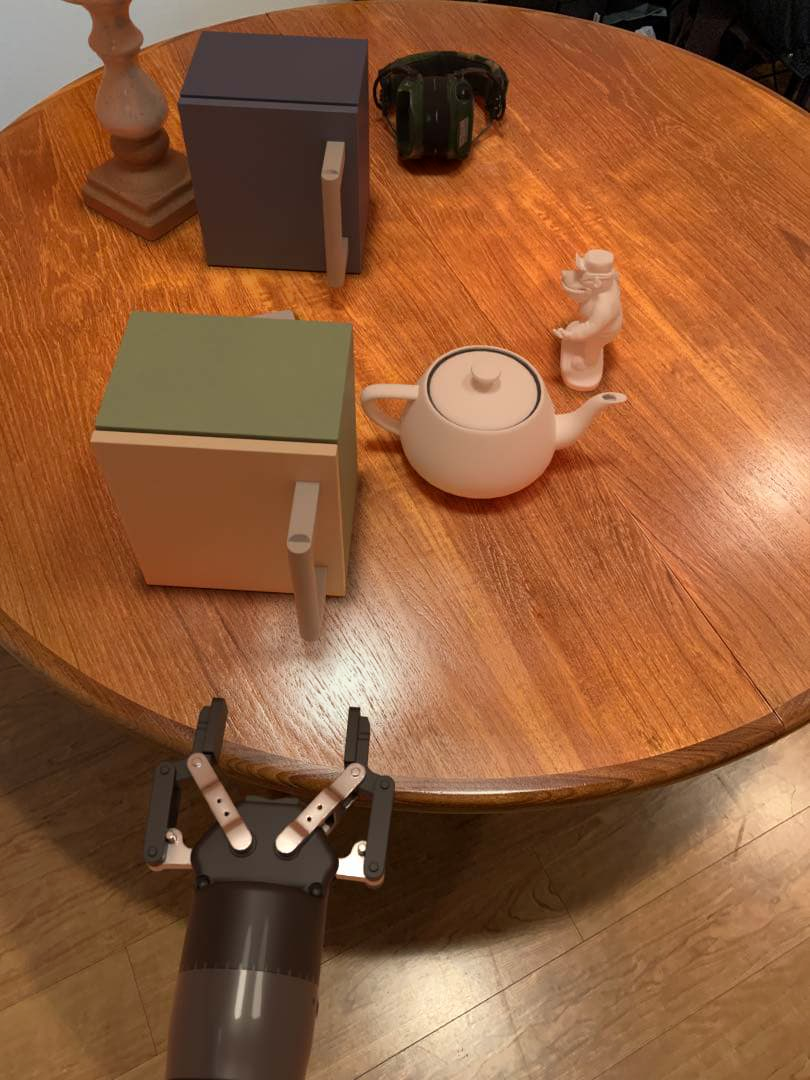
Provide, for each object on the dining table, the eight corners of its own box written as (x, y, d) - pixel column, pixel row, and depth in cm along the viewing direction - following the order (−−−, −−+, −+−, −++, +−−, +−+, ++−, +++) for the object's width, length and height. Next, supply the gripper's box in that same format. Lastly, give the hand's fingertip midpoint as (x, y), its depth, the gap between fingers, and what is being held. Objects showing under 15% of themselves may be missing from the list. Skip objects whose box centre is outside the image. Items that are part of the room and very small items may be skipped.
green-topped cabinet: (346, 584, 75) (337, 439, 60) (150, 572, 75) (93, 425, 60) (357, 477, 81) (353, 322, 66) (176, 467, 81) (131, 310, 67)
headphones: (531, 133, 101) (512, 65, 115) (449, 40, 94) (439, -22, 108) (441, 215, 108) (433, 140, 122) (358, 133, 101) (360, 64, 114)
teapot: (353, 506, 79) (349, 422, 71) (369, 389, 87) (367, 300, 78) (610, 525, 79) (639, 443, 70) (603, 406, 87) (628, 318, 78)
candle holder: (152, 243, 98) (94, 10, 79) (81, 203, 102) (9, -30, 82) (223, 193, 103) (186, -37, 84) (154, 157, 107) (102, -72, 87)
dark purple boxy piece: (361, 266, 97) (358, 103, 82) (210, 258, 97) (179, 93, 82) (369, 201, 103) (368, 39, 88) (227, 194, 103) (201, 30, 89)
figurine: (545, 321, 93) (565, 219, 83) (610, 328, 93) (638, 227, 83) (541, 387, 88) (562, 287, 78) (610, 394, 87) (640, 295, 78)
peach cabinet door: (337, 661, 71) (326, 529, 56) (130, 648, 71) (65, 513, 56) (345, 586, 75) (337, 444, 60) (149, 574, 75) (93, 429, 60)
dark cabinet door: (355, 311, 93) (351, 151, 78) (197, 302, 93) (163, 141, 78) (361, 267, 97) (358, 106, 82) (209, 258, 97) (178, 96, 82)
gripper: (381, 985, 46) (401, 688, 55) (97, 966, 46) (163, 673, 55) (381, 1007, 52) (399, 736, 61) (130, 990, 52) (185, 723, 62)
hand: (287, 706), depth 58 cm, fingers open, 8 cm apart
